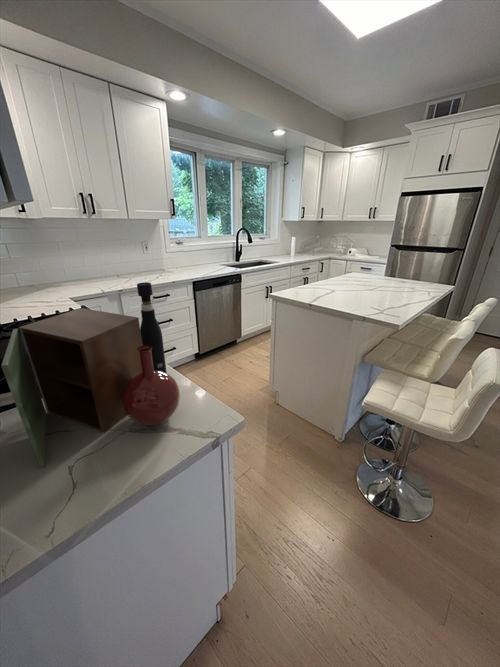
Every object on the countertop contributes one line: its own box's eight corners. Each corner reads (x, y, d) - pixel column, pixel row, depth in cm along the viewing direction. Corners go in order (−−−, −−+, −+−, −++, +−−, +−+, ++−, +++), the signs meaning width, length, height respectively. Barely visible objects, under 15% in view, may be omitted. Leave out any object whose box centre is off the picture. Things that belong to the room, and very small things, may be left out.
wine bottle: (151, 369, 93) (139, 280, 81) (170, 371, 92) (159, 281, 81) (142, 379, 87) (127, 285, 76) (161, 381, 86) (149, 286, 75)
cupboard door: (0, 483, 53) (-51, 376, 44) (11, 423, 68) (-25, 334, 59) (45, 466, 56) (7, 364, 47) (46, 413, 72) (17, 328, 63)
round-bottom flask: (165, 442, 63) (154, 365, 55) (115, 432, 66) (98, 357, 58) (190, 407, 75) (184, 339, 67) (147, 399, 78) (137, 334, 70)
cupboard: (104, 433, 65) (82, 341, 56) (47, 412, 72) (18, 327, 63) (150, 396, 79) (138, 317, 70) (98, 381, 86) (81, 307, 77)
